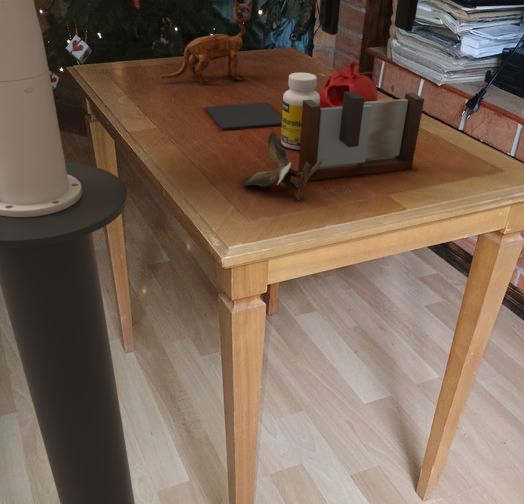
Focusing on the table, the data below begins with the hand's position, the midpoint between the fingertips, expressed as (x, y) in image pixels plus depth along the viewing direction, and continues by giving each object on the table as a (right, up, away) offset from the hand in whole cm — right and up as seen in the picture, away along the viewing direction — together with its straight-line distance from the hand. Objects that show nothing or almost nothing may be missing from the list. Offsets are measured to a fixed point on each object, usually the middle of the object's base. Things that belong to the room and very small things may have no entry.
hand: (366, 30), depth 72 cm
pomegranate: (+2, +1, +31) cm, 31 cm away
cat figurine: (-23, +15, +47) cm, 54 cm away
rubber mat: (-15, +1, +30) cm, 34 cm away
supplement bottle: (-7, -7, +21) cm, 23 cm away
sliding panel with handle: (-1, -13, +10) cm, 17 cm away
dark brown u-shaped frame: (+1, -13, +13) cm, 18 cm away
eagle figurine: (-10, -17, +7) cm, 21 cm away
